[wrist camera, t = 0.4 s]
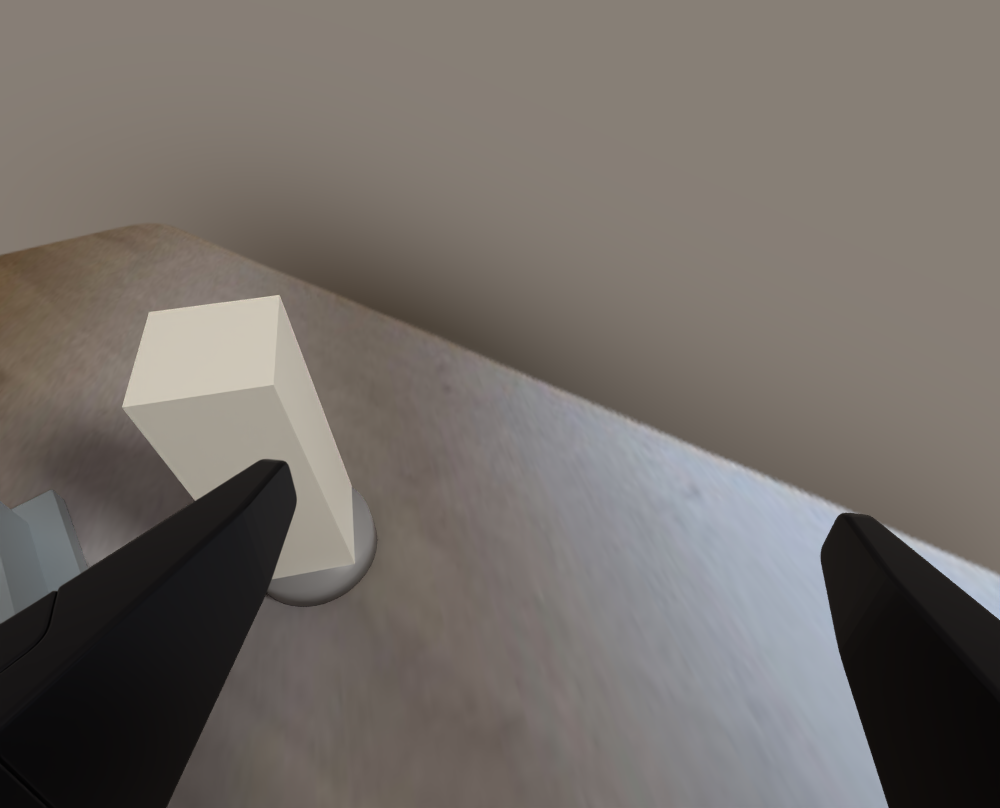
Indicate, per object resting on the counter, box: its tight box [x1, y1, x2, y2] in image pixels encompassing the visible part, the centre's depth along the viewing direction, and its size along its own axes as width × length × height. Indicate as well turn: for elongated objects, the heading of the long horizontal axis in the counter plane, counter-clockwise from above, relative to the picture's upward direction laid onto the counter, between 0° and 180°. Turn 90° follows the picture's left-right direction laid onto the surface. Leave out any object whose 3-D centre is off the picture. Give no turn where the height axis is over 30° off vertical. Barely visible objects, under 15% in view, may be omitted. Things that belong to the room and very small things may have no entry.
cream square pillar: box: [122, 295, 377, 607], centre depth 22 cm, size 6×6×13 cm
